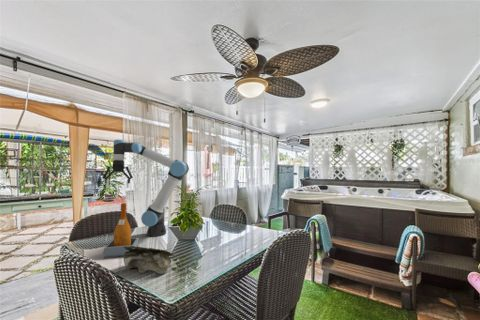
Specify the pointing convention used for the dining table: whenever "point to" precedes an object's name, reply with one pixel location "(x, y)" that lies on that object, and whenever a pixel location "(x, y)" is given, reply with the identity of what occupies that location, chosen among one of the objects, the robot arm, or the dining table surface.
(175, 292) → the dining table surface
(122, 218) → the wine bottle
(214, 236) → the dining table surface
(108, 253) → the crate
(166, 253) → the hollow geode rock
